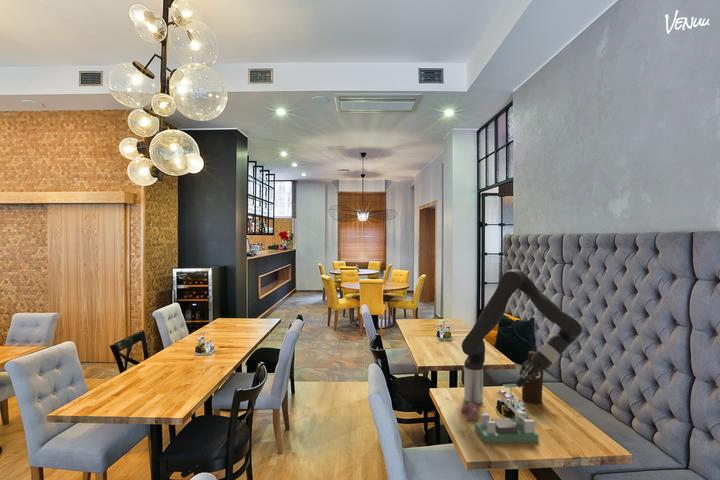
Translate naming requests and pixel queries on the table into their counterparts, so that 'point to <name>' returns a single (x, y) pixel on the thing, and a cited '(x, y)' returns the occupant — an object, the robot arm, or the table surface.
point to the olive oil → (532, 386)
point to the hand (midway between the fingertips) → (517, 385)
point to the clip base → (505, 436)
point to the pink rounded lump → (470, 411)
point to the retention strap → (509, 405)
